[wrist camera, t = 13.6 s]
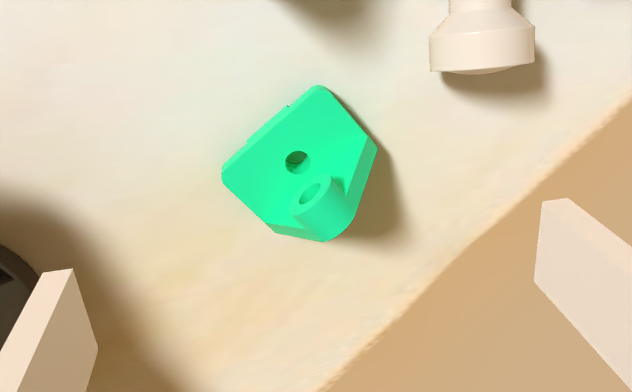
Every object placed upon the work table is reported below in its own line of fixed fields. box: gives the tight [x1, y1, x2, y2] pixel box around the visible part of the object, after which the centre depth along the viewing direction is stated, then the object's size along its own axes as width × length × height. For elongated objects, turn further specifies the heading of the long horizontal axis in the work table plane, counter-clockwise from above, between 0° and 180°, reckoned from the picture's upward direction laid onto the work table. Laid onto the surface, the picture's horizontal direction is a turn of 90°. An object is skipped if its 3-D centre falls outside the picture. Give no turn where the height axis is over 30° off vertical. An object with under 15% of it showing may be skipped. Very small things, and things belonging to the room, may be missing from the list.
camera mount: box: [221, 85, 378, 242], centre depth 46 cm, size 12×8×10 cm, turn 130°
